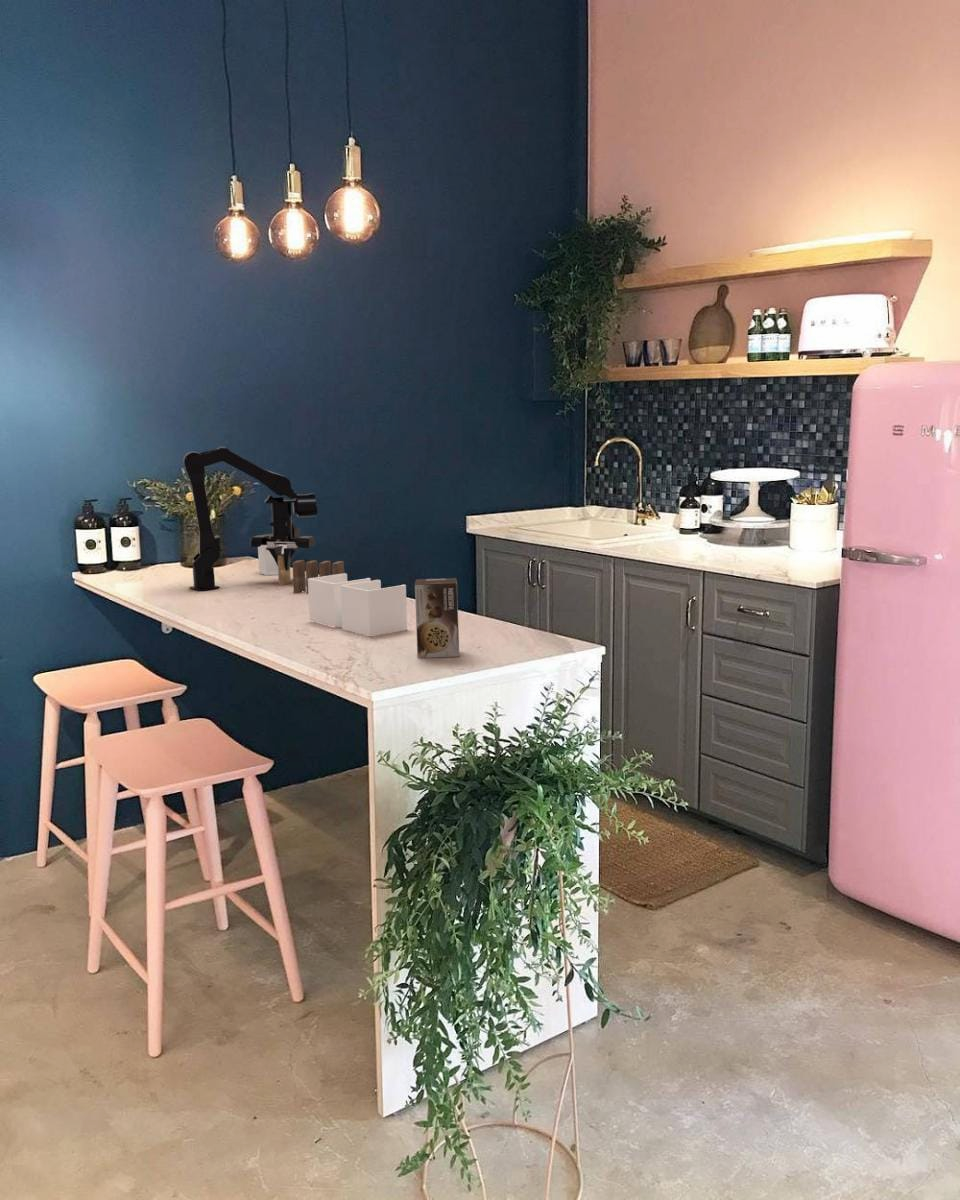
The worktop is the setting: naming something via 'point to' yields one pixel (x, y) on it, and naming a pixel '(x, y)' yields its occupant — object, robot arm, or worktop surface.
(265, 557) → the jar
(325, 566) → the domino
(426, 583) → the coffee box
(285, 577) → the domino
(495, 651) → the worktop surface
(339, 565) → the domino
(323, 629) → the worktop surface
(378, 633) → the white open box
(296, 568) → the domino
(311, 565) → the domino
